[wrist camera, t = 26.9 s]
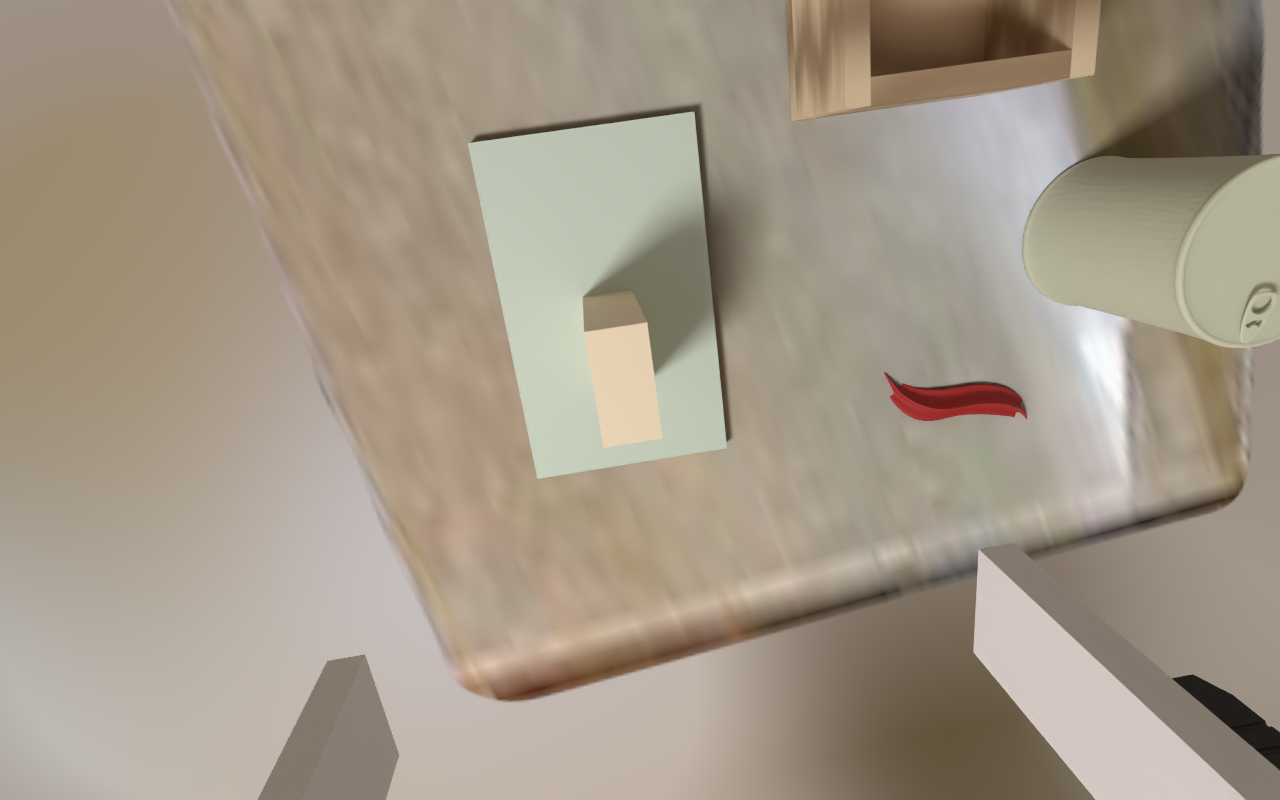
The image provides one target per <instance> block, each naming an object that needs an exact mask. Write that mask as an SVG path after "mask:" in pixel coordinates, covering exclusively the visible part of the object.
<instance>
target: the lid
mask: <svg viewBox="0 0 1280 800" xmlns="http://www.w3.org/2000/svg"><path fill="white" fill-rule="evenodd" d="M468 146H469V151H470V156H471V161H472V165H473V170H474V175H475V180H476V185H477V190H478V194H479V199H480V204H481V209H482V214H483V218H484V223H485V228H486V233H487V238H488V242H489V247H490V252H491V257H492V262H493V266H494V271H495V276H496V281H497V286H498V290H499V295H500V300H501V305H502V310H503V315H504V319H505V324H506V329H507V334H508V339H509V343H510V348H511V353H512V358H513V363H514V367H515V372H516V377H517V382H518V387H519V391H520V396H521V401H522V406H523V411H524V415H525V420H526V425H527V430H528V435H529V440H530V444H531V449H532V454H533V459H534V464H535V468H536V473H537V478H538V479H539V478H545V477H551V476H557V475H564V474H570V473H576V472H582V471H588V470H594V469H601V468H607V467H613V466H619V465H625V464H631V463H638V462H644V461H650V460H656V459H662V458H668V457H675V456H681V455H687V454H693V453H699V452H705V451H712V450H718V449H724V448H727V443H726V433H725V423H724V412H723V402H722V392H721V382H720V371H719V361H718V351H717V340H716V330H715V320H714V310H713V299H712V289H711V279H710V268H709V258H708V248H707V237H706V227H705V217H704V207H703V196H702V186H701V176H700V165H699V155H698V145H697V135H696V124H695V114H694V112H687V113H680V114H673V115H666V116H659V117H651V118H644V119H637V120H630V121H623V122H616V123H609V124H601V125H594V126H587V127H580V128H573V129H566V130H558V131H551V132H544V133H537V134H530V135H523V136H515V137H508V138H501V139H494V140H487V141H480V142H473V143H468Z"/></svg>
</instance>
